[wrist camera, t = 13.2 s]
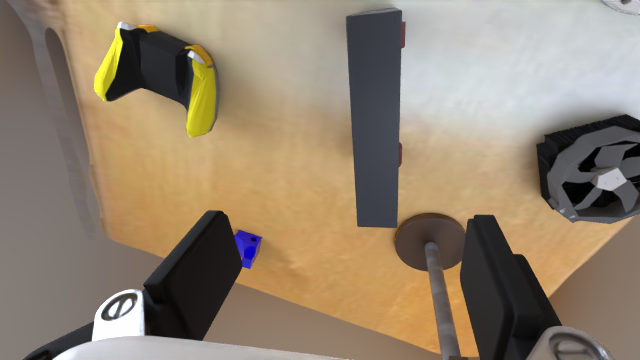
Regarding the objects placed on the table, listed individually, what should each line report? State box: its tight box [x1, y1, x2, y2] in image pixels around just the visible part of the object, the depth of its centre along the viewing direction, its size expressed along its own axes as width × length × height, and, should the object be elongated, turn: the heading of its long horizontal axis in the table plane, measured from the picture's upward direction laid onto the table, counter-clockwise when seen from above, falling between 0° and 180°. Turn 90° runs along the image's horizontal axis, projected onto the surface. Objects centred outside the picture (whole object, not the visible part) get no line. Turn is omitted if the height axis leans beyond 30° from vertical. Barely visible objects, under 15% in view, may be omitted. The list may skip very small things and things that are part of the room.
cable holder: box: [234, 230, 262, 269], centre depth 50 cm, size 8×4×4 cm, turn 76°
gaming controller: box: [94, 22, 219, 137], centre depth 37 cm, size 15×6×10 cm
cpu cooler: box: [536, 114, 640, 224], centre depth 33 cm, size 10×6×10 cm
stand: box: [395, 213, 468, 360], centre depth 36 cm, size 10×10×20 cm
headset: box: [346, 8, 405, 228], centre depth 30 cm, size 5×17×14 cm, turn 6°
